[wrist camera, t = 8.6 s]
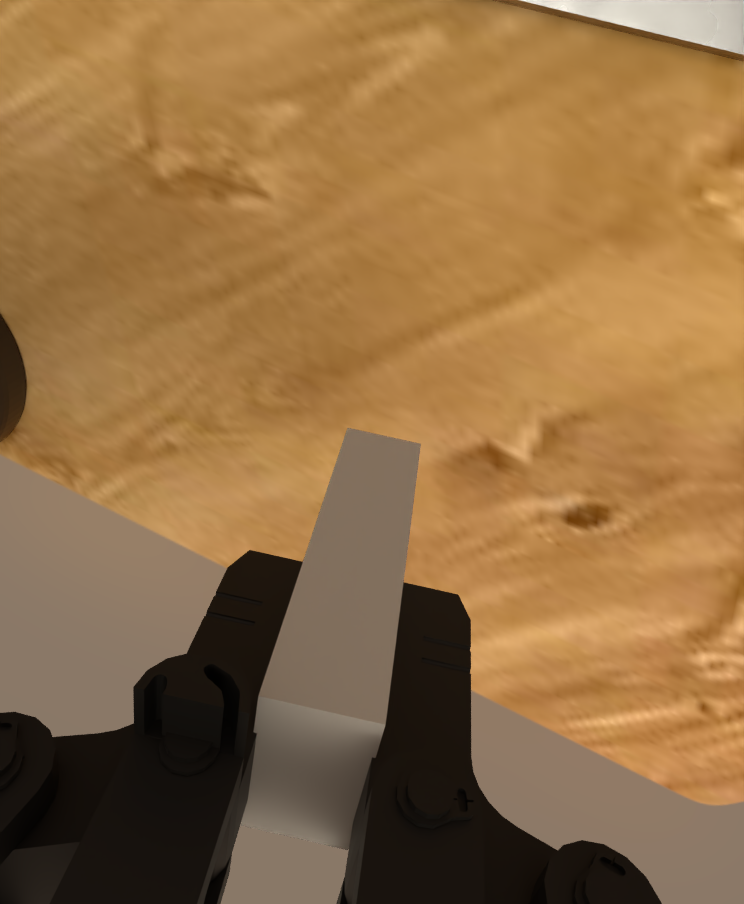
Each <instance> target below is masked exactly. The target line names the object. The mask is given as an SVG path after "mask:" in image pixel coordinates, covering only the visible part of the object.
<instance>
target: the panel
mask: <svg viewBox="0 0 744 904" xmlns="http://www.w3.org/2000/svg"><path fill="white" fill-rule="evenodd" d="M494 1H498V2H502V3H506V4H510V5H514V6H518V7H522V8H527V9H531V10H535V11H539V12H543V13H547V14H551V15H555V16H559V17H564V18H568V19H572V20H576V21H580V22H584V23H588V24H592V25H596V26H601V27H605V28H609V29H613V30H617V31H621V32H625V33H629V34H634V35H638V36H642V37H646V38H650V39H654V40H658V41H662V42H666V43H671V44H675V45H679V46H683V47H687V48H691V49H695V50H699V51H704V52H708V53H712V54H716V55H720V56H724V57H728V58H732V59H736V60H741V61H744V0H494Z"/></svg>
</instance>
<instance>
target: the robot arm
mask: <svg viewBox="0 0 744 904" xmlns="http://www.w3.org/2000/svg"><path fill="white" fill-rule="evenodd" d="M25 393H26V385H25V374H24V369H23V365H22V361H21V357H20V355H19V352H18V349H17V346H16V344H15V342H14V340H13V338H12V335H11V333H10V332H9V330H8V328H7V326H6V325H5V323H4V321H3V320H2V318H1V317H0V442H1V441H2V440H3V439H4V438H6V437H7V436H8V435H9V434H10V433H11V432H12V430H13V429H14V428H15V426H16V424H17V423H18V421H19V419H20V417H21V414H22V411H23V407H24V403H25ZM420 446H421V444H419V443H414V442H410V441H405V440H401V439H396V438H392V437H387V436H383V435H378V434H373V433H369V432H364V431H360V430H355V429H351V428H347V431H346V434H345V437H344V440H343V443H342V446H341V449H340V452H339V455H338V458H337V461H336V464H335V467H334V470H333V473H332V476H331V479H330V482H329V485H328V488H327V491H326V494H325V497H324V500H323V503H322V506H321V509H320V512H319V515H318V518H317V521H316V524H315V527H314V530H313V533H312V536H311V539H310V542H309V545H308V548H307V551H306V554H305V557H304V560H303V562H301V561H296V560H292V559H288V558H283V557H279V556H274V555H270V554H265V553H261V552H256V551H252V550H249V551H248V552H247V553H245V554H244V555H243V556H242V557H240V558H239V559H238V560H237V561H235V562H234V563H233V564H232V565H230V566H229V567H228V568H227V570H226V573H225V574H224V577H223V579H222V581H221V583H220V585H219V587H218V589H217V591H216V595H215V596H214V597H213V600H212V602H211V604H210V606H209V608H208V610H207V614H206V616H204V619H203V620H202V623H201V625H200V627H199V629H198V631H197V633H196V635H195V637H194V639H193V641H192V643H191V646H190V648H189V650H188V652H187V654H184V655H180V656H175V657H171V658H167V659H165V660H164V661H162V662H160V663H159V664H157V665H155V666H154V667H152V668H150V669H149V670H147V671H146V672H145V674H144V675H143V676H142V677H141V679H140V680H139V681H138V682H137V683H136V685H135V686H134V724H131V725H129V726H126V727H124V728H121V729H118V730H115V731H109V732H104V733H98V734H86V735H73V736H61V737H52V735H51V732H50V730H49V729H48V728H47V727H46V726H45V725H43V724H42V723H41V722H40V721H39V720H38V719H37V718H35V717H31V716H28V715H24V714H21V713H17V712H7V713H0V904H220V903H221V900H222V896H223V893H224V889H225V886H226V883H227V879H228V876H229V872H230V864H231V856H232V851H233V847H234V844H235V841H236V837H237V834H238V830H239V827H240V824H241V825H242V826H246V827H250V828H255V829H259V830H263V831H267V832H272V833H276V834H280V835H285V836H289V837H293V838H298V839H302V840H307V841H311V842H315V843H319V844H324V845H328V846H332V847H337V848H341V849H345V850H348V849H349V852H348V858H347V866H346V872H345V878H344V881H343V884H342V887H341V891H340V894H339V897H338V900H337V904H662V903H661V901H660V900H659V898H658V896H657V895H656V893H655V891H654V890H653V888H652V886H651V885H650V883H649V881H648V879H647V878H646V877H645V876H644V874H643V873H641V871H640V870H638V868H636V867H635V865H634V864H633V863H631V862H630V860H628V858H626V857H625V856H623V855H622V854H620V853H618V852H616V851H615V850H613V849H611V848H609V847H607V846H606V845H604V844H599V843H594V842H588V841H583V840H581V841H577V842H574V843H570V844H566V845H563V846H562V847H561V848H560V849H559V850H556V849H554V848H552V847H550V846H549V845H547V844H545V843H544V842H542V841H540V840H539V839H537V838H535V837H533V836H532V835H530V834H528V833H526V832H525V831H523V830H521V829H520V828H518V827H516V826H515V825H514V824H512V823H511V822H510V821H508V820H507V819H505V818H504V817H502V816H501V815H500V814H499V813H498V811H497V810H496V809H495V808H494V807H493V806H492V805H491V804H490V803H489V802H488V800H487V799H486V797H485V796H484V794H483V793H482V791H481V789H480V788H479V786H478V783H477V780H476V778H475V775H474V773H473V767H472V760H471V674H470V669H471V652H470V647H471V620H470V618H469V616H468V614H467V612H466V610H465V608H464V606H463V604H462V602H461V599H460V597H459V595H458V594H453V593H449V592H444V591H440V590H435V589H431V588H426V587H422V586H417V585H413V584H408V583H404V574H405V566H406V558H407V550H408V542H409V534H410V526H411V518H412V510H413V502H414V494H415V486H416V478H417V470H418V462H419V454H420ZM241 821H242V822H241Z"/></svg>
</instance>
